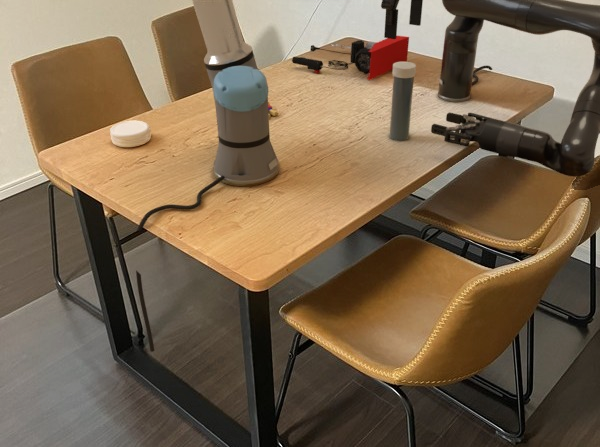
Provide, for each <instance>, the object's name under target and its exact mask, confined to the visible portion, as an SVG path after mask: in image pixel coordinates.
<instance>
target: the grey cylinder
mask: <svg viewBox="0 0 600 447" xmlns="http://www.w3.org/2000/svg"><path fill="white" fill-rule="evenodd" d="M392 78H393V79H392V93H391V107H390V120H389V121H390V122H389V124H390V125H389V138H390V139H392V140H393V141H406V140H408V139H409V138H410V137H409V136H410V126H411V115H412V114H411V113H412V103H413V101H412V100H413V92H414V82H415V81H414V80H415V76H414V77H412V78H398V77H395V76H392Z"/></svg>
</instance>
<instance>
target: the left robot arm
mask: <svg viewBox="0 0 600 447" xmlns="http://www.w3.org/2000/svg"><path fill="white" fill-rule="evenodd" d="M191 1H192V5H193V7H194V11H195V14H196V18H197V22H198V24H199V27H200V28H199V29H200V30H201V35H202V37H203V41H204V44H205V47H206V50H207V51H206V52H207V53H206V54H205V56H204V58H203V63H204V65H205V68H206V72H207V75H208V79H209V81H210V85H211V89H212V93H213V100H214V106H215V115H216V126H217V135H218V145H217V149H216V153H215V159H214V162H213V167H212V168H213V176H214V177H215V180H214V181H212V182H211V183H209V184H208V185H206V186H205V187H204V188H201V189H200V191H199V192H198V193H197V196H196V202H195V203H194V204H189V205H183V204H163V205H161V206H158V207H154V208H152V209H151V210H148V211H147V212H146V213H145V214H144V215H143V217H142V219H141V220H140V222H139V224H138V226H137V228H136V232H140V231H142V230H143V228H144V225H145V224H146V222H147V221H148V220H149V218H150V217H151V216H153V215H154V214H155V213H158V212H161V211H165V210H169V209H170V210H172V209H173V210H183V211H187V210H194V209H197V208H199V207H200V206H201V204H202V196H203V195H204V194H205V193H206V192H207V191H209V190H210V189H212V188H213V187H215V186H216V185H218V184H220V183H223V184H225V185H228V186H229V185H230V186H234V187H251V186H252V187H253V186H257V185H261V184H265V183H267V182H269V181H271V180H273V179H274V178H275V177H276V176H277V175H278V174H279V171H280V166H279V164H280V163H279V160H278V156H277V154H276V151H275V149H274V146H273V144H272V142H271V138H270V136H271V135H270V134H271V133H270V118H269V112H268V102H269V91H270V90H269V84H268V80H267V77H266V75H265V74H264V72H263V71H262V70H260V69H259V68H258V66H257V62H256V58H255V54H254V51H253V47H252V46H251V45H250V44H248V43H247V42H245V41H244V38H243V34H242V31H241V27H240V23H239V19H238V16H237V13H236V9H235V5H234V2H233V0H191ZM423 1H424V0H410V7H409V8H410V10H409V21H408V24H409V25H410V26H416V27H417V26H418V27H420V26H421V24H422V13H423V12H422V11H423ZM399 3H400V0H381V5H380V7H381V9H382V10H385V19H384V36H383V37H384V38H385V39H387V38H390V39H396V36H398V34H397V32H398V19H399V9H398V6H399ZM135 275H136V284H137V291H138V297H139V302H140V308H141V312H142V317H143V321H144V325H145V330H146V335H147V341H148V344H149V351H150V352H151V353H152V352H153V353H154V352H155V345H154V339H153V334H152V329H151V324H150V320H149V315H148V311H147V306H146V301H145V297H144V296H145V295H144V290H143V282H142V274H141V273H140V272H139V271H138V270H135Z"/></svg>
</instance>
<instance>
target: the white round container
mask: <svg viewBox="0 0 600 447" xmlns="http://www.w3.org/2000/svg"><path fill="white" fill-rule="evenodd" d="M150 128H151V126H150V125H149V123H147V122H146V121H142V120H133V119H132V120H125V121H120V122H118V123H116V124H113V126H111V128H110V129H109V134H110V138H111V142H112V144H113V145H114V146H116V147H120V148H134V147H139V146H142V145H144V144H147V143H148V142H149V141H150V140H151V138H152V135H151V129H150Z"/></svg>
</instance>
